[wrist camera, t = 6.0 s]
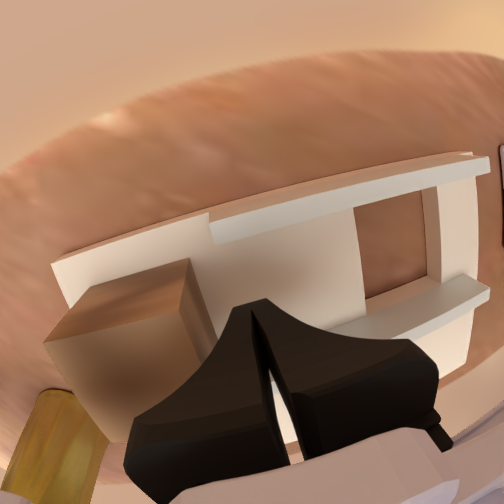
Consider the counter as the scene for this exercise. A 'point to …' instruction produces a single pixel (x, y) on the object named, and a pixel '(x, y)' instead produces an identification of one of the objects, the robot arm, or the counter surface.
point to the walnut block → (132, 343)
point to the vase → (56, 453)
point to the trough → (356, 194)
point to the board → (297, 266)
